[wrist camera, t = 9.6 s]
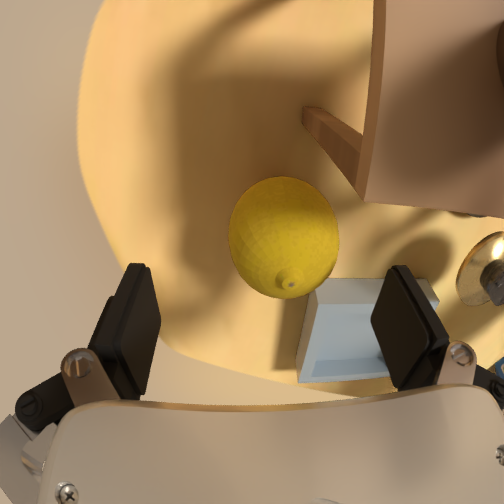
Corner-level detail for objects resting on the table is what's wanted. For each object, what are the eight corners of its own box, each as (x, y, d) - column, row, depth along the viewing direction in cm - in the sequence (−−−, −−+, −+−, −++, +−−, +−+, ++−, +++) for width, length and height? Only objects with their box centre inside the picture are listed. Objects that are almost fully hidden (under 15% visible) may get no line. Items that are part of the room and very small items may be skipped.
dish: (426, 278, 22) (439, 301, 20) (389, 354, 28) (396, 375, 25) (312, 277, 22) (318, 304, 20) (295, 358, 28) (297, 383, 25)
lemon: (280, 253, 21) (291, 345, 14) (215, 205, 19) (194, 290, 12) (339, 197, 19) (382, 276, 12) (274, 139, 17) (288, 193, 10)
